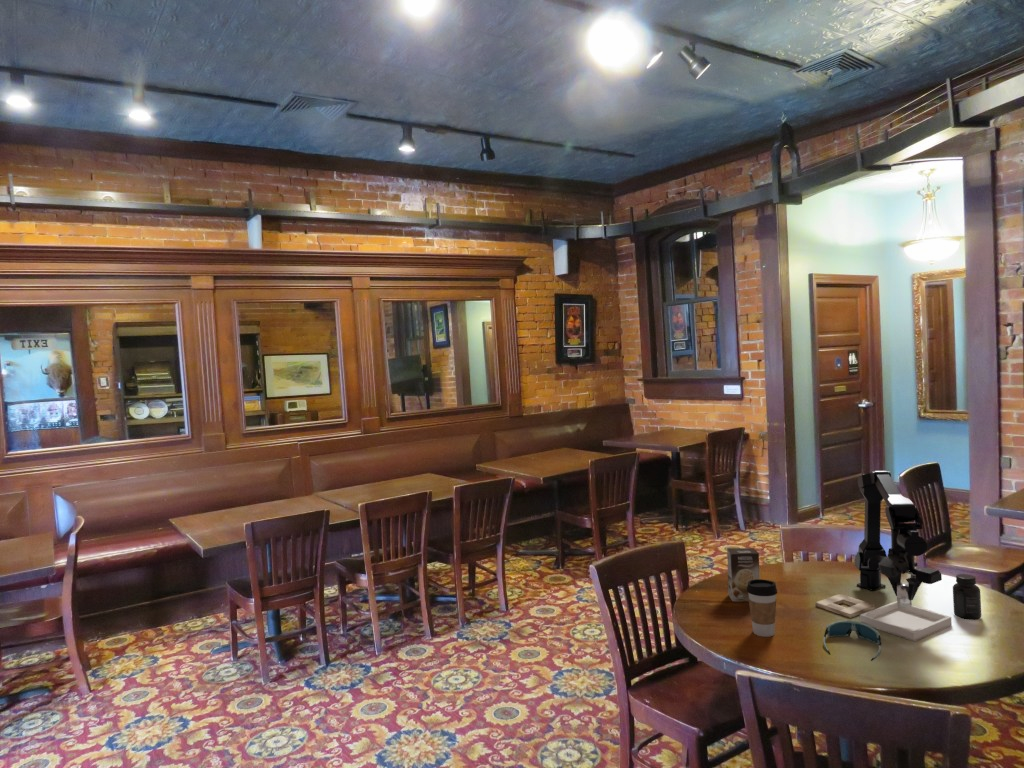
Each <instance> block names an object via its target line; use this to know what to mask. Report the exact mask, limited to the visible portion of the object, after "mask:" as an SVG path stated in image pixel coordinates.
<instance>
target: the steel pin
mask: <svg viewBox="0 0 1024 768" xmlns="http://www.w3.org/2000/svg"><path fill="white" fill-rule="evenodd" d="M896 601H897V605H899V606H901V607H911V606H912V605H913V604H912V600H909V583H908V582H901V583H897V596H896Z"/></svg>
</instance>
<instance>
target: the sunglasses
mask: <svg viewBox="0 0 1024 768" xmlns="http://www.w3.org/2000/svg"><path fill="white" fill-rule="evenodd" d="M825 627H826V628H825V630H824V634H823V638H822V641H823V646H824V649H825V650H826V652H828V655H831V652H830V649H828V647H827V645H826V639H827V638H826V637H829V638H833V637H839V636H841V637H843V636H844V637H847V636H848V637H850V636H851V634H852V632H853V631H854V632H855V634H856V636H857V637H858V638H861V639H865V640H868V641H870V642H873V643H875V644H876V645H878V651H877V653H876V654H875V655H874V656H873V657H872V658H871V659H870V662H872V661H874V660H875V659H877V658H878V657H879V655H880V654H881V651H882V639H881V634H880V632H879V631H878V630H876V628H873V627H870V626H868V625H866V624H864V623H861V622H860V621H857V620H837V621H834V622H831V623H829V624H828V625H827V626H825Z"/></svg>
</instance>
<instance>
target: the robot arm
mask: <svg viewBox="0 0 1024 768" xmlns="http://www.w3.org/2000/svg"><path fill="white" fill-rule="evenodd" d="M857 485H858V488H859V491H860V493H861V494H862V496H863V497H864V528H863V529H864V532H863V533H864V536H863V537H864V538H863V540H862V541H861V542H860V543H859V545H858V551H857V552H856V554H855V557H854V560H853V561H854V566H855V568H856V569H857V570H858V571H859V573H860V574H859V581H860V582H859V583H856V586H857V587H860V588H863V589H867V590H871V591H874V592H875V591H877V590H880V589H883V588H886V585H885V584H884V583H882V575H884V576H885V577H886V578H887V579H888V581H889V583H890V585H891V587H892V590H893V592H894V594H895V597H897V583H902V581H901V580H902V575H905V574H908V575H910V577H908V578H906V579H905V581H906V583H908V584H909V600H911V601H913V600H914V598H915V596H916V594H917V592H918V589H919V588H920V586H921V585H922V584H927V585H931V584H935V583H937V582H939V581H942V580H943V579H942V573H941V571H940V570H939V569H936V568H931V567H928V566H926V567H923V568H921V569H919V568H916V567H918V562H917V561H915V557H919V556H920V557H921V556H922V555H923V554H925V553H926V551H927V548H928V543H927V542H926V540H925V539H924V538H923V537H922V536H921V535H920V532H919V531H918V530H923V529H924V528H923V525H924V524H923V523H924V522H923V519H922V517H921V514H920V511H919V509H918V507H917V506H916V505H915V503H914V502H913V501H912V500H911V499H910V498H908V497H905V496H903V495H902V494H901V491H900V489H899V488H898V486H897V485H896V483H895V482H894V481H893V479H892V474H891V471H888V470H874V471H870V472H869V473H862V474H861V475H859V477H857ZM882 501H884V503H885V504H886V506H885V509H884V513H885V517H886V519H887V522H888V524H889V527H890V541H891V542H890V544H891V545H890V546H891V548H888V551H887V552H886V550H885V548H884V547H883V545H882V544H881V520H882V519H881V518H882V515H881V512H882V511H881V510H882V509H881V507H882V503H881V502H882Z"/></svg>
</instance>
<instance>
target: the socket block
mask: <svg viewBox="0 0 1024 768" xmlns="http://www.w3.org/2000/svg"><path fill="white" fill-rule="evenodd" d="M841 604H844V605H848V607H845V606H843V605H841ZM815 607H818V608H820V609H823V610H827V611H830V612H832V613H835V614H837V615H840V616H844V617H846V618H849V619H851V618H855V617H857V616H860V615H861V614H863V613H866V612H869V611H871V610H874V609H876V604H874V603H871V602H867V601H865V600H861V599H858V598H854V597H852V596H848V595H846V594H842V593H838V594H835V595H832V596H829V597H827V598H824V599H821V600H818V601H815Z"/></svg>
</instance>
